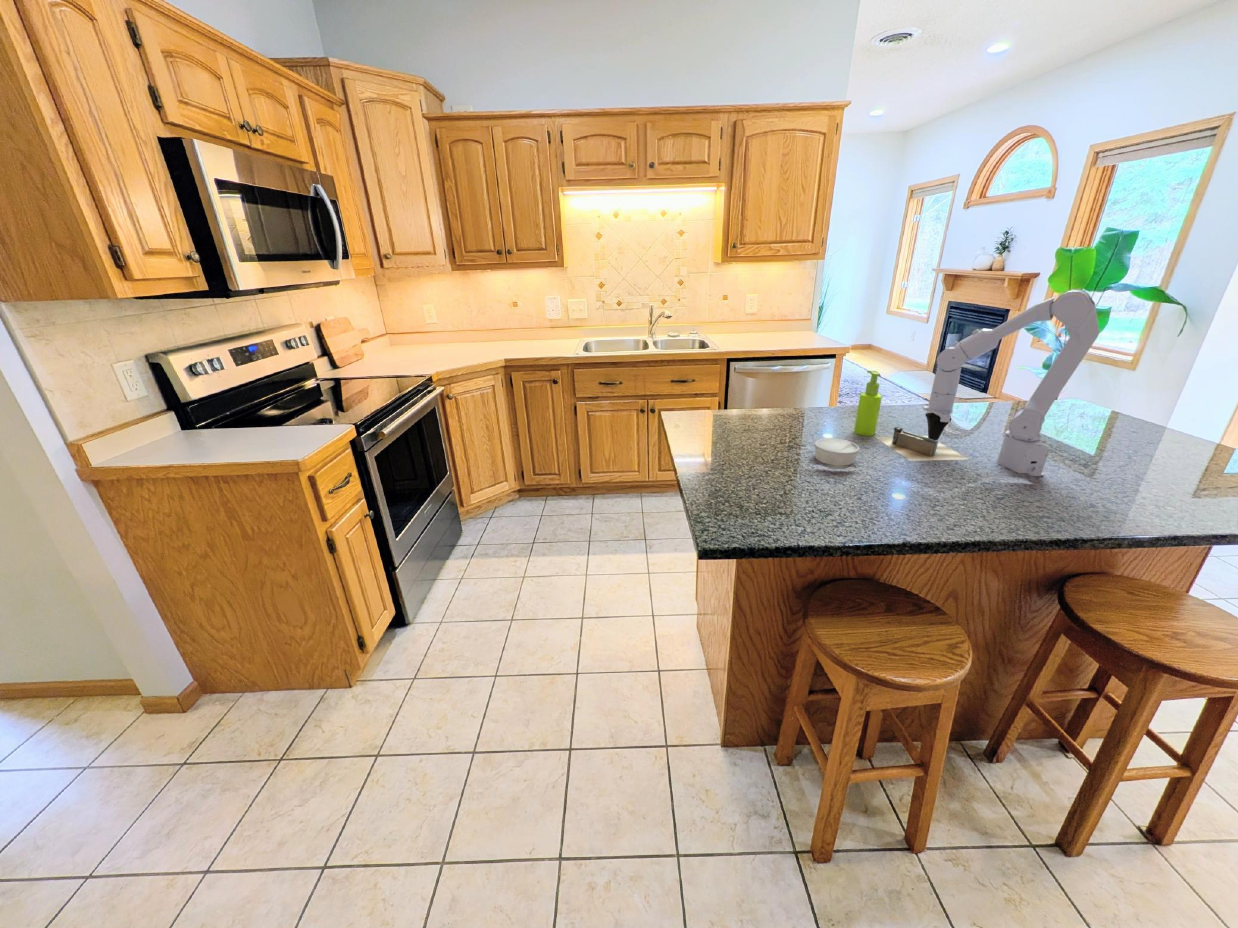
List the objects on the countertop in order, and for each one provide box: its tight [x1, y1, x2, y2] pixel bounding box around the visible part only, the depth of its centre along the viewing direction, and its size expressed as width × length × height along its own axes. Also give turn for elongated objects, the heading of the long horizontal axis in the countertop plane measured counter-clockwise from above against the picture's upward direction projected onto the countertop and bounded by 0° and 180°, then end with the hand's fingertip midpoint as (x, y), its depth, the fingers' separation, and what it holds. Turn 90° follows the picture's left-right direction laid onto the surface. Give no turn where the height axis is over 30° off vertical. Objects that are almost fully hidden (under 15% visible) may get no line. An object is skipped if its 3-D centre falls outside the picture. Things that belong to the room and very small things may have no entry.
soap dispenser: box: [853, 370, 883, 436], centre depth 151 cm, size 6×7×20 cm
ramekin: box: [813, 437, 860, 470], centre depth 135 cm, size 11×11×5 cm
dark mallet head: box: [892, 426, 935, 457], centre depth 140 cm, size 12×2×5 cm, turn 27°
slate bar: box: [902, 430, 939, 455], centre depth 139 cm, size 10×1×4 cm, turn 25°
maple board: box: [874, 435, 970, 462], centre depth 142 cm, size 19×16×1 cm
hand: (932, 439), depth 140 cm, fingers closed
